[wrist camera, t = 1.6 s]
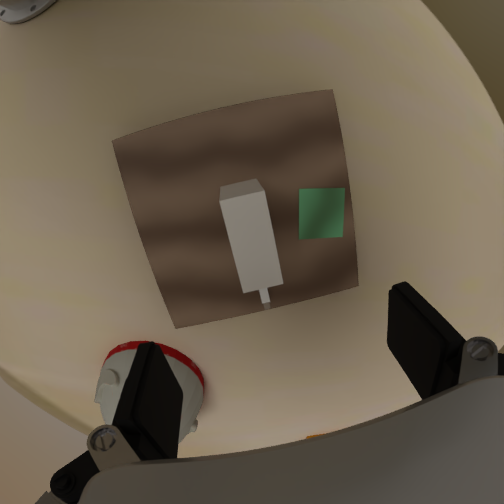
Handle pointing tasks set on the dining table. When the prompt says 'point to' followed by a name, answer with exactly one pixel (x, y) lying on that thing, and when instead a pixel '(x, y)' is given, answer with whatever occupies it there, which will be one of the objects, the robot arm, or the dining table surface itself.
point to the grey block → (251, 236)
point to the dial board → (233, 171)
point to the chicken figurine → (118, 371)
